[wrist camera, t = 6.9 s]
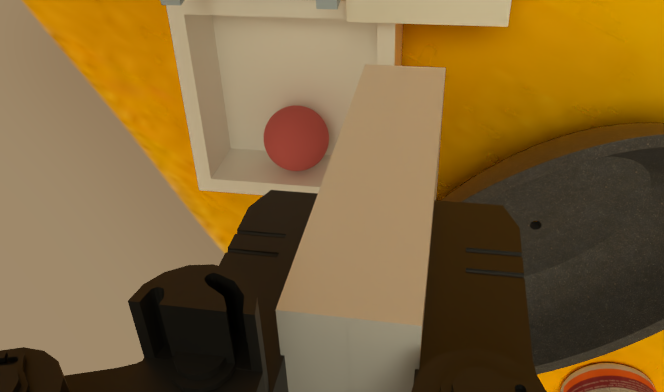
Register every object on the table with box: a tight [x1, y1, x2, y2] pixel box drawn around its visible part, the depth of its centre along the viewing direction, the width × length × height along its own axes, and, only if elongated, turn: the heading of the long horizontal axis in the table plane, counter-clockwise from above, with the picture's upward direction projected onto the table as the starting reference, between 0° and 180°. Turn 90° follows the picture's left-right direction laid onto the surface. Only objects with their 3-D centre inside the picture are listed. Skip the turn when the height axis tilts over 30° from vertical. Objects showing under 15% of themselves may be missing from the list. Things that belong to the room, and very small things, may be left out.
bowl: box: [441, 123, 664, 374], centre depth 34 cm, size 12×22×6 cm, turn 131°
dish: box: [166, 0, 403, 195], centre depth 32 cm, size 11×11×4 cm
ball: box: [264, 105, 329, 171], centre depth 33 cm, size 4×4×4 cm
